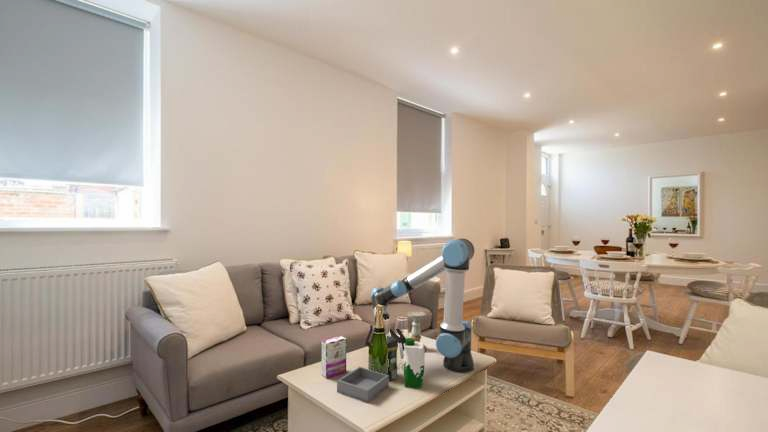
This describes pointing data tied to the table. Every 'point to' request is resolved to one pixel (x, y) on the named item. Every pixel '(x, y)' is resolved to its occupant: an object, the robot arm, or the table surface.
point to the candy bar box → (333, 356)
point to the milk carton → (413, 363)
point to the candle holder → (416, 325)
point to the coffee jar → (392, 357)
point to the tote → (363, 384)
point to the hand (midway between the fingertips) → (388, 358)
